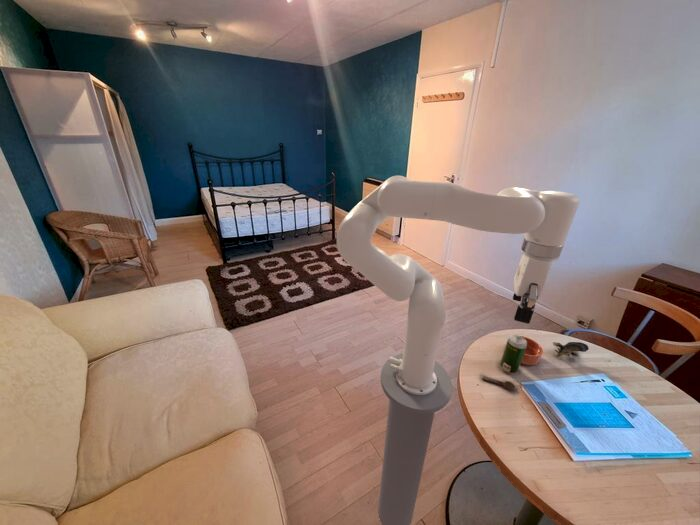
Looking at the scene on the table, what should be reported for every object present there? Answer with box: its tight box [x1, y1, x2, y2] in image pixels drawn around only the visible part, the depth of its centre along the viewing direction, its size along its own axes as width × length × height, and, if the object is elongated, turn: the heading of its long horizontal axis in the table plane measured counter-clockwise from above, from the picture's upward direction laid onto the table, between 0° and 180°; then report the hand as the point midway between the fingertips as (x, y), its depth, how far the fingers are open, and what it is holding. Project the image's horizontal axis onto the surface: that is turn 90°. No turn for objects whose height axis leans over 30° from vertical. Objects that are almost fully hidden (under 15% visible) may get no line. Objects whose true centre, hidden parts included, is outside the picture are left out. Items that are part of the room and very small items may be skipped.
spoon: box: [482, 375, 516, 392], centre depth 87 cm, size 9×3×1 cm, turn 64°
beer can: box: [499, 334, 527, 375], centre depth 90 cm, size 5×5×12 cm
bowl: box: [520, 335, 544, 366], centre depth 97 cm, size 10×10×4 cm
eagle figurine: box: [552, 341, 590, 361], centre depth 97 cm, size 8×7×9 cm
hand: (520, 310), depth 71 cm, fingers open, 9 cm apart
